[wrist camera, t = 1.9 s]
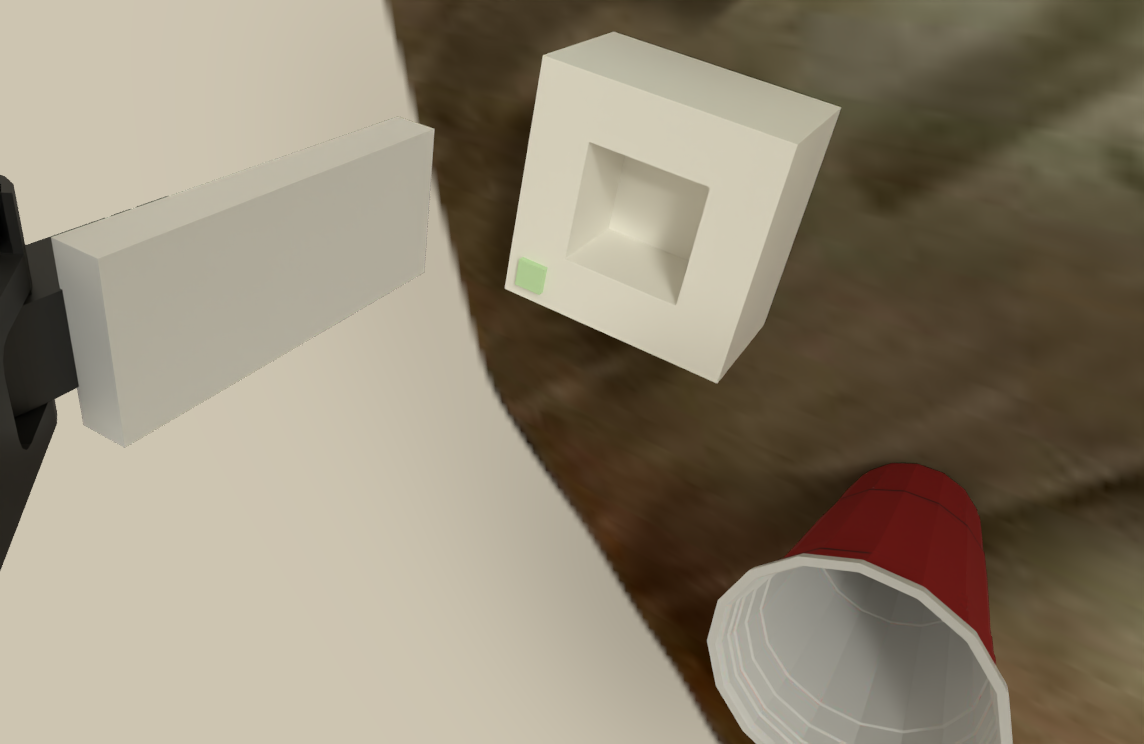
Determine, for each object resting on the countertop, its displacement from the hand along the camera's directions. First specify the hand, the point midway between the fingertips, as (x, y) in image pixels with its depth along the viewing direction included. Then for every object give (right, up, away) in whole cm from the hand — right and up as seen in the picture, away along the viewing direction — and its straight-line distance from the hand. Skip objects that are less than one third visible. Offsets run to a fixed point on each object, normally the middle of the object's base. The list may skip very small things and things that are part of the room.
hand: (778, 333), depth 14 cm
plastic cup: (+12, -7, +28) cm, 31 cm away
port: (+2, +8, +26) cm, 27 cm away
